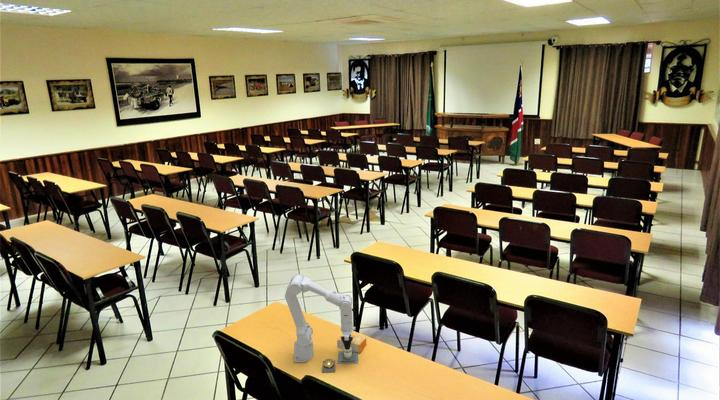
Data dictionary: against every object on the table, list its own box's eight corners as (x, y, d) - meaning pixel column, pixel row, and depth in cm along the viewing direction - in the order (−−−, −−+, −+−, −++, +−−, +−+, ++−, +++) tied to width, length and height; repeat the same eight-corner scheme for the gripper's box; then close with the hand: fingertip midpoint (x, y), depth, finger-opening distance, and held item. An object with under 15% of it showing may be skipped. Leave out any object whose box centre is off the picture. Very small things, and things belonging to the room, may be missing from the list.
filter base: (337, 365, 209) (337, 362, 208) (338, 352, 218) (338, 350, 218) (358, 365, 209) (358, 362, 208) (358, 352, 218) (357, 349, 218)
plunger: (323, 372, 203) (323, 365, 202) (324, 365, 208) (323, 358, 207) (333, 372, 203) (333, 365, 202) (334, 365, 208) (334, 358, 207)
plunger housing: (322, 374, 203) (322, 368, 202) (323, 365, 209) (323, 360, 208) (334, 374, 203) (334, 368, 202) (335, 365, 209) (335, 360, 208)
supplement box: (359, 344, 214) (336, 339, 220) (360, 353, 215) (336, 348, 221) (366, 337, 222) (343, 332, 227) (366, 345, 223) (344, 340, 228)
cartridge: (343, 359, 211) (343, 351, 210) (344, 354, 215) (343, 346, 214) (352, 359, 211) (351, 350, 210) (352, 354, 215) (351, 345, 214)
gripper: (354, 328, 200) (355, 353, 204) (354, 311, 214) (355, 335, 218) (339, 328, 200) (340, 353, 204) (340, 312, 214) (341, 335, 218)
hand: (347, 344), depth 211 cm, fingers open, 7 cm apart
